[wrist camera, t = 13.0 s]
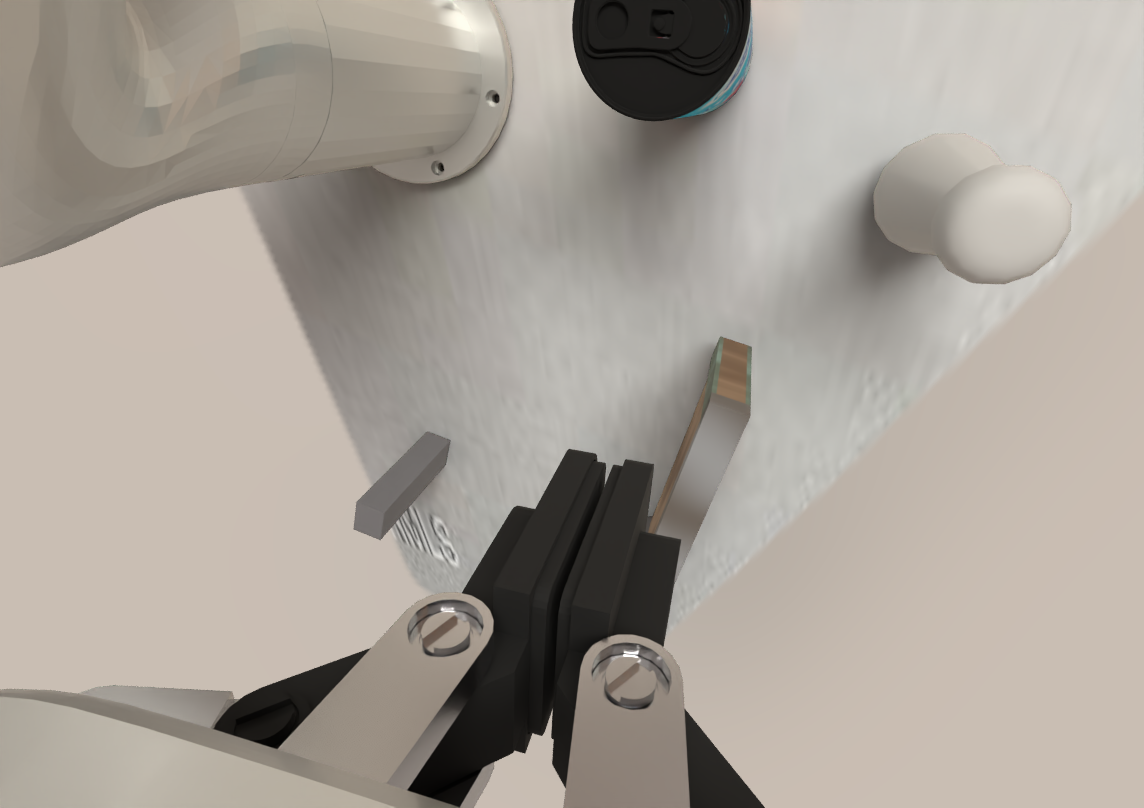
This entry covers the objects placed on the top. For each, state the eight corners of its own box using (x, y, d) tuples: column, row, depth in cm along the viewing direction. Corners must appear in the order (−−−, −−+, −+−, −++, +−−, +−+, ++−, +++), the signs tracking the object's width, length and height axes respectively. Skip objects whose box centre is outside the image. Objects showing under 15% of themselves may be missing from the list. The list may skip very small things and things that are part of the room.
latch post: (423, 455, 50) (353, 529, 42) (427, 431, 49) (356, 501, 40) (445, 464, 50) (380, 540, 41) (450, 440, 49) (384, 513, 40)
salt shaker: (1013, 163, 32) (1154, 195, 21) (936, 261, 35) (1024, 337, 23) (911, 111, 32) (996, 114, 21) (843, 213, 35) (885, 265, 24)
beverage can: (728, 128, 35) (711, 143, 22) (628, 98, 35) (553, 93, 22) (771, 7, 32) (782, -61, 19) (662, -24, 32) (599, -111, 19)
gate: (673, 529, 45) (654, 627, 37) (647, 519, 45) (622, 614, 37) (751, 346, 38) (750, 415, 30) (720, 336, 38) (709, 402, 30)
